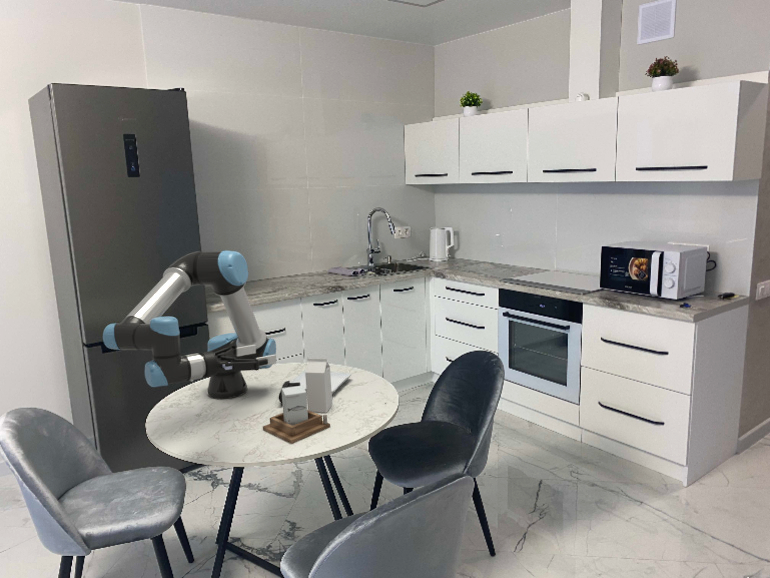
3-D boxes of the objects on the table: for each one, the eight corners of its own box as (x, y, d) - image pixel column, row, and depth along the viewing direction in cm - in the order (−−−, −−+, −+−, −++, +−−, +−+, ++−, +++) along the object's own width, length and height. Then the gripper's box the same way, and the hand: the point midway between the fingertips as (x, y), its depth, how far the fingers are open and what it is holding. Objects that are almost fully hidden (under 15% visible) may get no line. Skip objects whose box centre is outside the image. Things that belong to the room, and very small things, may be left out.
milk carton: (326, 413, 207) (323, 362, 204) (307, 412, 209) (304, 361, 205) (332, 405, 214) (329, 355, 210) (314, 404, 216) (310, 355, 212)
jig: (262, 429, 195) (261, 418, 195) (301, 414, 207) (300, 403, 206) (291, 443, 184) (290, 431, 184) (330, 427, 195) (329, 415, 195)
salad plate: (333, 399, 221) (332, 390, 220) (282, 395, 227) (282, 386, 226) (353, 380, 240) (352, 372, 240) (306, 376, 247) (305, 369, 246)
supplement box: (286, 431, 190) (284, 395, 188) (283, 422, 197) (280, 387, 195) (309, 428, 193) (306, 391, 190) (305, 419, 200) (302, 384, 197)
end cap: (282, 397, 224) (281, 380, 223) (301, 396, 224) (300, 379, 223) (279, 407, 214) (277, 390, 213) (298, 406, 214) (297, 389, 213)
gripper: (185, 367, 183) (247, 355, 197) (218, 389, 164) (284, 375, 178) (184, 344, 182) (247, 334, 195) (218, 363, 163) (284, 351, 176)
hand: (265, 353), depth 186 cm, fingers open, 13 cm apart
